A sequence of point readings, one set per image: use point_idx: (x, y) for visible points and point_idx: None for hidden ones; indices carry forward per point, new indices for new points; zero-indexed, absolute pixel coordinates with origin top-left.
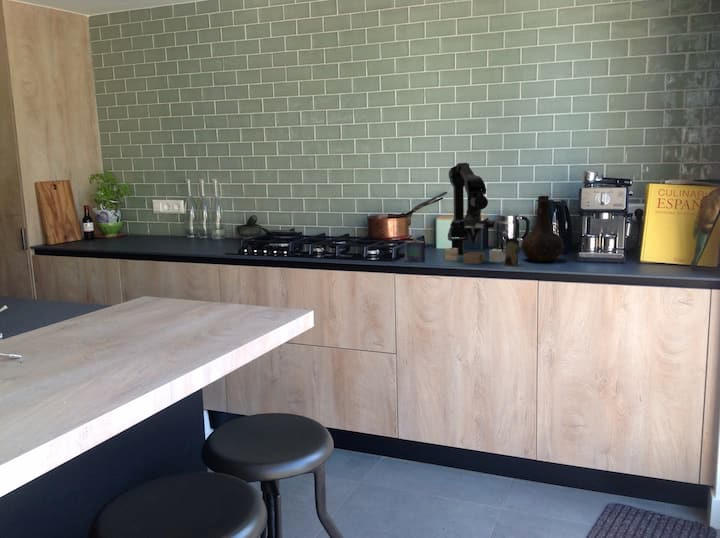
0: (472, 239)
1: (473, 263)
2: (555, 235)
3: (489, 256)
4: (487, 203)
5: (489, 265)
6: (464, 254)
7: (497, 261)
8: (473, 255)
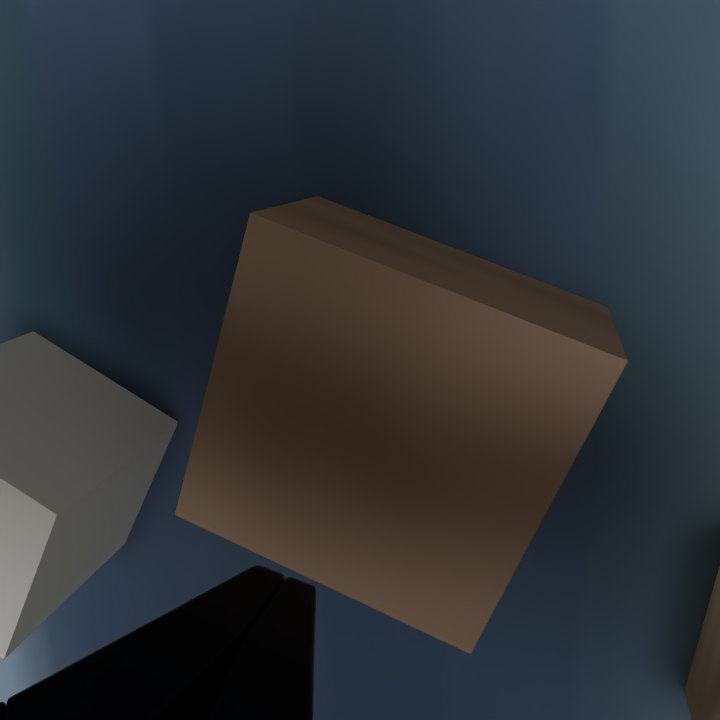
0: (266, 665)
1: (408, 231)
2: None
3: (127, 453)
4: None
5: (123, 32)
6: (594, 348)
7: (52, 353)
8: (371, 256)
